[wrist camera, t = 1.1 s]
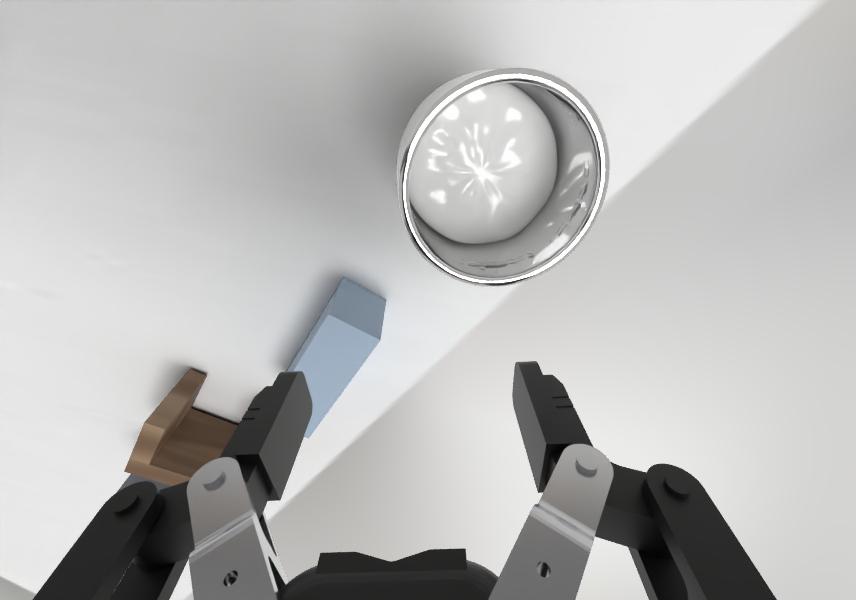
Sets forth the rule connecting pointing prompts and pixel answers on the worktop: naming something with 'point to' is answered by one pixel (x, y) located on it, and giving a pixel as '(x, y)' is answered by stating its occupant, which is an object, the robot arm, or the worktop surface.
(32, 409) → the worktop surface
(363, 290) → the peg
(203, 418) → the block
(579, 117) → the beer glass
